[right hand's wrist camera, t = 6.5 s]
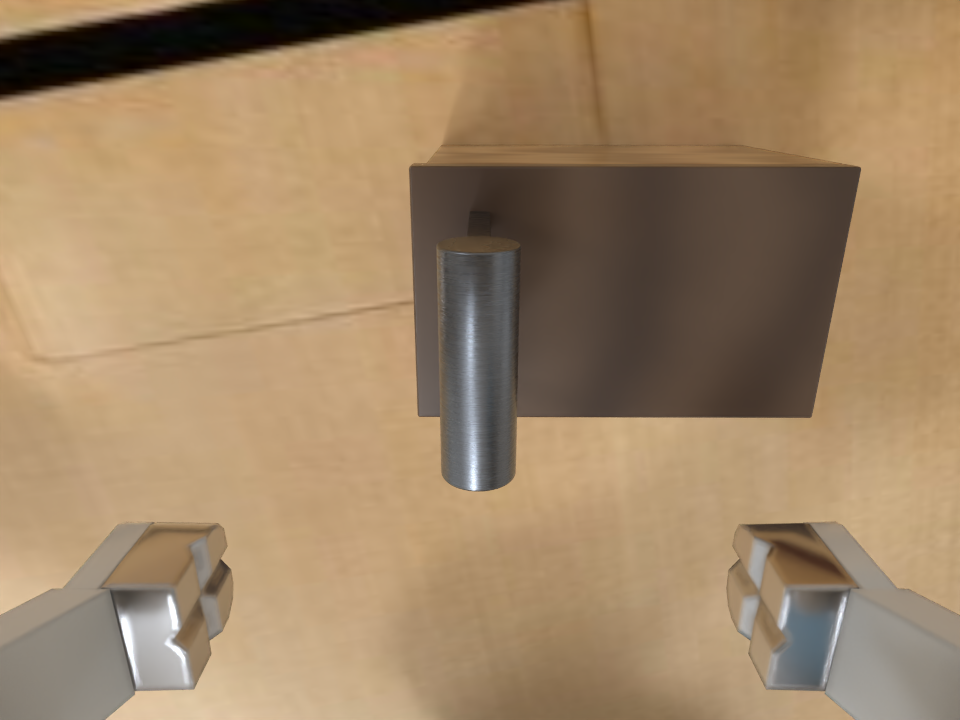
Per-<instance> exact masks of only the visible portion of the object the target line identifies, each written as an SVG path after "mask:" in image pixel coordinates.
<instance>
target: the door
mask: <svg viewBox="0 0 960 720" xmlns="http://www.w3.org/2000/svg"><path fill="white" fill-rule="evenodd" d="M860 172H861V168H860V167H857V166H852V165H846V164H415V163H414V164H412V165H411V166H410V168H409V178H410V206H411V234H412V263H413V291H414V319H415V348H416V376H417V404H418V416H419V417H440V426H441V472H442V476H443V478H444V479H445V480H446V481H447V482H448V483H449V484H451V485H452V486H454V487H457V488H459V489H463V490H468V491H489V490H494V489H498V488H500V487H503V486H505V485H506V484H508V483H509V482H510V481H511V480H512V479H513V478H514V476H515V472H516V431H517V417H734V418H810V417H812V412H813V407H814V402H815V397H816V392H817V387H818V382H819V377H820V372H821V367H822V362H823V357H824V352H825V347H826V342H827V337H828V332H829V327H830V322H831V317H832V312H833V307H834V302H835V297H836V292H837V287H838V282H839V277H840V272H841V267H842V262H843V257H844V252H845V247H846V242H847V237H848V232H849V227H850V222H851V217H852V212H853V207H854V202H855V197H856V192H857V187H858V182H859V177H860Z"/></svg>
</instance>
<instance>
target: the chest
mask: <svg viewBox="0 0 960 720" xmlns="http://www.w3.org/2000/svg"><path fill="white" fill-rule="evenodd" d="M426 164H841V163H835V162H830V161H824V160H818V159H813V158H807V157H802V156H796V155H791V154H785V153H780V152H774V151H769V150H763V149H758V148H752V147H747V146H666V145H441V147H440V148H439V149H438V151H437V152H436V153H435V154H434V155H433V156H432V158H431V159H430V160H429V161H428V162H427V163H426Z"/></svg>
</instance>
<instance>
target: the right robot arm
mask: <svg viewBox="0 0 960 720" xmlns="http://www.w3.org/2000/svg"><path fill="white" fill-rule="evenodd" d="M226 548H227V542H226V537H225V532H224V528H223V527H222V526H220V525H219V524H218V523H174V522H157V523H154V522H125V523H122V524H119V525H117V526H116V527H115V528H114V529H113V531H112V532H111V533H110V534H109V535H108V536H107V538H106V539H105V540H104V541H103V542H102V543H101V544H100V546H99V547H98V548H97V549H96V550H95V551H94V553H93V554H92V555H91V556H90V557H89V558H88V560H87V561H86V562H85V563H84V564H83V565H82V567H81V568H80V569H79V570H78V571H77V572H76V573H75V575H74V576H73V577H72V578H71V579H70V580H69V582H68V583H67V584H66V585H65V586H64V587H63V589H51V590H49V591H47V592H45V593H43V594H41V595H39V596H37V597H35V598H33V599H31V600H29V601H27V602H25V603H23V604H21V605H19V606H17V607H15V608H13V609H11V610H9V611H8V612H6V613H4V614H2V615H0V720H105V719H106V718H107V717H109V716H110V715H111V714H112V713H113V712H115V711H116V710H117V709H118V708H119V707H120V706H122V705H123V704H124V703H125V702H126V701H127V700H129V699H130V698H131V697H132V696H133V695H135V692H134V691H153V690H187V689H194V688H195V686H196V684H197V682H198V680H199V678H200V676H201V674H202V672H203V670H204V668H205V666H206V664H207V662H208V660H209V658H210V656H211V648H210V643H209V640H211V639H212V638H214V637H215V636H216V635H218V634H219V633H221V632H222V631H223V629H224V627H225V624H226V622H227V620H228V618H229V614H230V610H231V605H232V600H233V579H232V572H231V569H230V568H229V567H228V566H227V565H226V564H225V563H224V562H223V561H222V560H221V557H222V555H223V553H224V551H225V550H226ZM733 548H734V550H735V551H736V553H737V555H738V557H739V560H738V561H737V562H736V563H735V564H734V565H733V566H732V567H731V568H730V569H729V572H728V580H727V599H728V607H729V610H730V614H731V618H732V620H733V622H734V624H735V627H736V629H737V631H738V632H739V633H741V634H742V635H744V636H745V637H746V638H748V639H749V640H751V643H750V648H749V656H750V658H751V660H752V662H753V664H754V666H755V668H756V670H757V672H758V674H759V676H760V678H761V680H762V682H763V684H764V686H765V688H766V689H771V690H807V691H825V694H826V695H827V696H828V697H829V698H830V699H832V700H833V701H834V702H835V703H836V704H838V705H839V706H840V707H841V708H842V709H843V710H845V711H846V712H847V713H848V714H849V715H850V716H852V717H853V718H854V719H855V720H960V615H958V614H956V613H954V612H952V611H950V610H948V609H947V608H945V607H943V606H941V605H939V604H937V603H935V602H933V601H931V600H929V599H927V598H925V597H923V596H921V595H919V594H917V593H915V592H913V591H911V590H909V589H897V587H896V586H895V585H894V584H893V583H892V582H891V580H890V579H889V578H888V577H887V576H886V575H885V573H884V572H883V571H882V570H881V569H880V568H879V567H878V565H877V564H876V563H875V562H874V561H873V560H872V558H871V557H870V556H869V555H868V554H867V553H866V551H865V550H864V549H863V548H862V547H861V546H860V545H859V543H858V542H857V541H856V540H855V539H854V538H853V536H852V535H851V534H850V533H849V532H848V531H847V529H846V528H845V527H844V526H843V525H841V524H839V523H837V522H807V523H791V524H739V526H738V528H737V530H736V532H735V536H734V541H733Z"/></svg>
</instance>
